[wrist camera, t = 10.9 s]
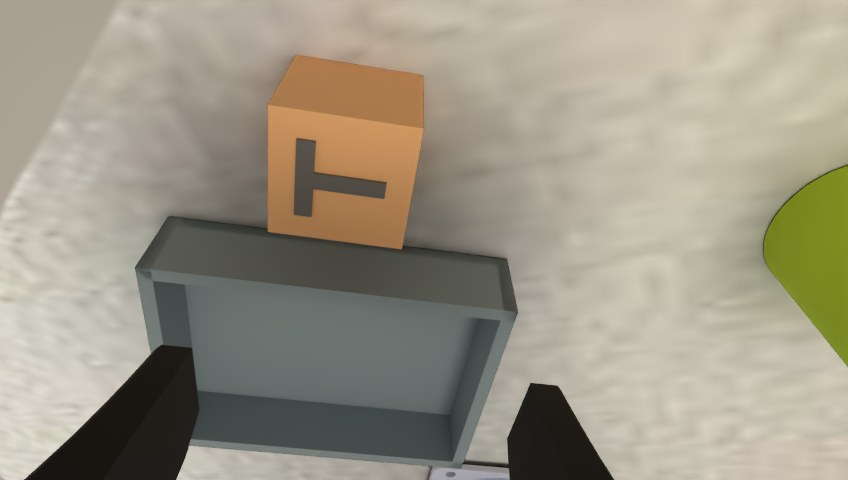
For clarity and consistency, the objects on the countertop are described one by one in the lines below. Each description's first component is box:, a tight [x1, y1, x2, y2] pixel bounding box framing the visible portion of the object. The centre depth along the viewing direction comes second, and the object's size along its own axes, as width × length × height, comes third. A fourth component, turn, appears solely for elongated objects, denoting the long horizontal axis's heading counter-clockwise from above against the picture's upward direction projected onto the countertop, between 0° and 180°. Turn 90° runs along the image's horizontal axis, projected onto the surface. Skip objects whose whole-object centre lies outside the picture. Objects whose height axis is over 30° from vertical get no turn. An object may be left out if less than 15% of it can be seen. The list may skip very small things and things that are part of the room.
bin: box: [135, 217, 518, 469], centre depth 23 cm, size 13×10×3 cm
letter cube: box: [268, 55, 424, 249], centre depth 17 cm, size 4×4×4 cm
